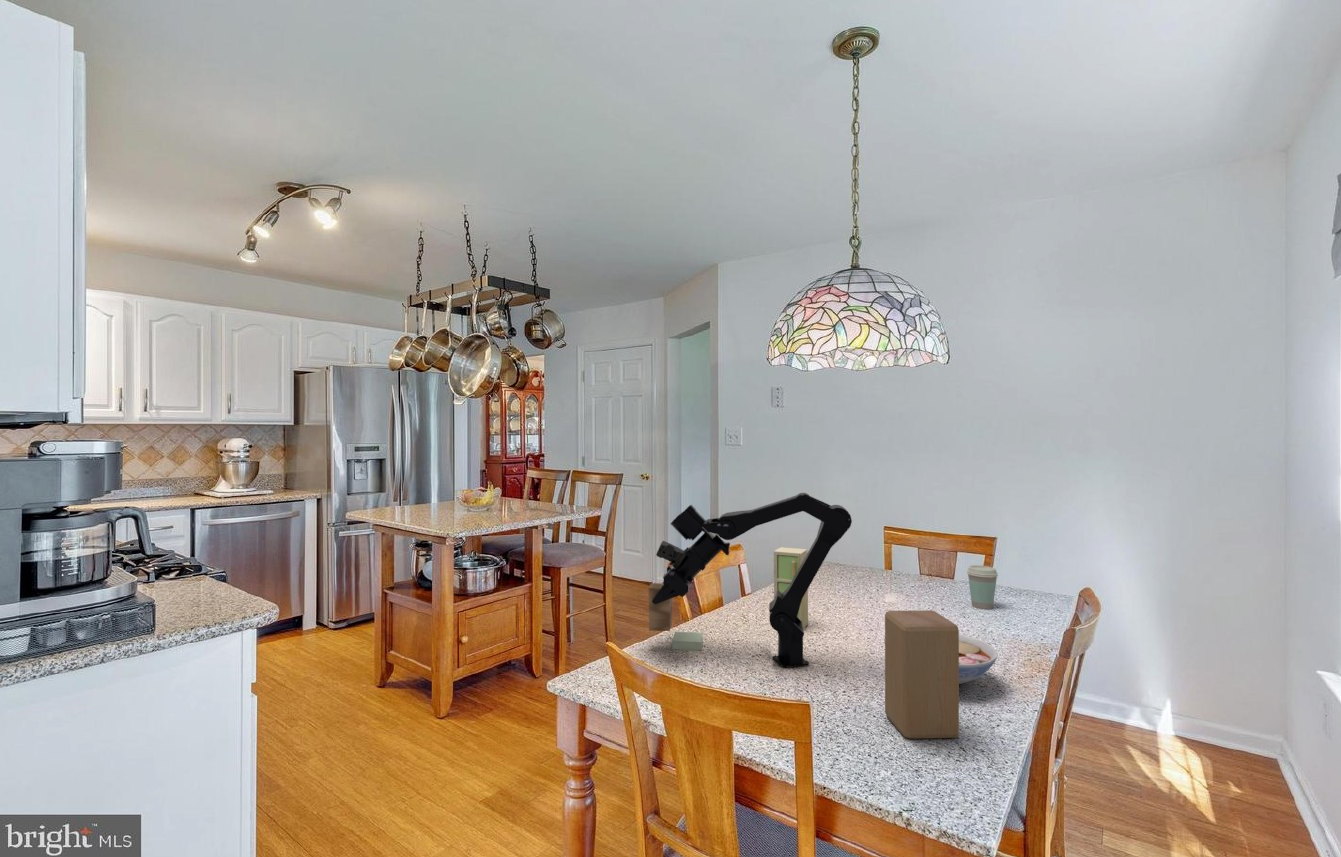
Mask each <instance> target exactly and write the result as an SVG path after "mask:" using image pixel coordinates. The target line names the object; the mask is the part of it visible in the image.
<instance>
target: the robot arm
mask: <svg viewBox="0 0 1341 857" xmlns="http://www.w3.org/2000/svg"><path fill="white" fill-rule="evenodd" d="M801 512H804V513H806V514H808V515H809V516H811V517H813V518H815V519H817V520H819V521H820V524H819V527H818V530H817V535H816V537H815V539H814V541H813V542H812V545H811V546H810V547H809V550H807V555H806V557H805V559H804V560H803V562H802V564H801V566H800V567H799V569H798V571H797V573H796V575H795V576H794V578H793V580H792V582H791V583H790V585H789V587H788V588H787V589H786V590H785V591H784V592H783V593H781V592H780V591H779V590H777V592H776V595H775V598H774V597H773V599H772V600H771V601H770V602H769V604H768V606H769V607H768V612H769V619H768V620H769V624H770V626H771V627H772V629H773V630H774V631H776V632H777V634H778V635H777V636H778V638H777V640H778V641H777V648H778V649H777V654H776V655H773V656H772V659H773V660H774V661H775V662H776V663H778V664H779V665H780V666H781V667H782V668H794V667H804V666H809V665H810V662H809V661H807V659H805V658H804V636H805V633H804V632H805V631H804V629H803V623H802V621H801V620H800V619H799V618H798V617H797V615H798V612H799V608H800V605H801V601H802V598H803V596H804V595H805V593H806V591H807V589H808V590H809V587H810V586H811V584H812V582H813V581H814V579H815V577H816V575H817V574H818V572H819V571H820V568H821V566H822V565H823V564H824V561H825V559H826V558H827V556H828V554H829V552H830V551H831V549H832V548H833V547H834V545H835V544H836V543H838V542H839V541H840V539H842V537H843V536H844V535H845V534H846V533H847V531H848V530H849V529H850V528H851V525H852V521H853V519H852V515H851V514H850V512H849V511H848V510H847V509H846V508H845V507H844V506H843V505H839V504H832V505H830V504H829V503H827V502H824V501H823V500H820V499H817V498H815V497H813V496H811V495H810V494H809V493H806V492H800V493H798V494H796V495H794V496H790V497H787V498H785V499H784V498H783V499H781V500H778V501H774V502H772V503H769V504H766V505H762V506H759V507H756V508H754V509H748V510H738V511H737V510H736V511H730V512H725V513H723V514H721V515H720V517H717V518H714V517H713V518H708V519H705V518H704V517H703V516H702V515H701V514H700V513H699V512H698V511H697V510H696V508H695V506H694V505H693V504H690V505H689V506H688V507H686V508H685V509H684V510H683V511H681V513H679V514H678V515H677V516H676V517H675V518H674V519H673V520H672V521H671V523H670V525H671V526H672V527H673V528H674V529H675V531H677V532H678V533H679V534H680V536H682V537H683V539H685V541H687V540H689V541H694V540H695V539H697V537H698V536H699V535H700V534H701V533H702V532H703V533H702V535H701V536H699V537H698V539H697V540H696V541H695V542H694V543H693V544H692V545H691V546H689V547H686V548H685V549H681V548H680V547H678V546H677V545H674V544H672V543H669V542H668V541H664V540H662V541H661V543H660V545H659V547H658V549H657V552H656V557H658V558H660V559H662V558H663V559H664V560H666V561H668V562H669V565H668V566H667V567H666V572H665V573H664V575H663V577H662V578H663V582H662V583H664V584H663V586H662V587H661V589H660V590H659V592H658V593H657V594H656V596H655V597H654V599H653V600H652V602H653V603H654V604H658V603H660V602H663V601H666V600H668V599H671V598H672V599H674V598H676V597H679V596H680V597H681V598H684V597H685V595H686V594H688V593H689V591H690V584H691V583H692V582H693V581H694V579H695V578H696V577H697V575H698V574H699V573H700V572H701V571H704V570H705V569H706V567H707V566H708V564H710V562H711V561H712V560H714V558H715V557H717V555H718V554H719V553H720V552H721V551H722V552H723V554H725V555H726V556H729V555H730V545H731V542H725V541H731V540H732V541H733V539H736V538H737V537H739V536H742V535H744V534H745V533H747V532H748V531H750V530H751V529H754V528H756V527H757V526H760V525H764V524H767V523H770V522H773V521H776V520H779V519H783V518H785V517H788V516H792V515H795V514H799V513H801ZM713 534H714V535H713Z"/></svg>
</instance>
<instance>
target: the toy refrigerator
mask: <svg viewBox="0 0 1341 857" xmlns="http://www.w3.org/2000/svg"><path fill="white" fill-rule="evenodd" d="M807 553H808V549H805V548H798V547H797V548H795V547H785V546H784V547H781V546H780V547H778V548H777V549H775V550H773V594H774V595H773V599H774V598H775V595H776V592H777V590H779V591H780V592H781V593H783V592H784V591H785V590H786V589H787V588H788V587H789V585H790V583H791V582H792V580H793V578H794V576H795V575H796V573H797V571H798V569H799V567H800V566H801V564H802V562H803V560H804V559H805V557H806V555H807ZM797 617H798V618H799V619H800V620H801V621H802V623H803V630H804V629H805V628H806V626H807V625H808V624H809V588H808V589H807V591H806V593H805V595H804V596H803V598H802V601H801V605H800V608H799V612H798V615H797Z"/></svg>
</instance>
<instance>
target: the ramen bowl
mask: <svg viewBox="0 0 1341 857" xmlns="http://www.w3.org/2000/svg"><path fill="white" fill-rule="evenodd" d="M883 643H884V644H885V638H884V640H883ZM998 657H999V656H998V653H997V649H995V647H993V646H991V645H990V644H988V643H987V642H985V641H982V640H980V639H977V638H975V637H972V636H969V635H964V634H961V633H959V685H960V684H965V683H969V682H973V681H975V680H978V679H979V678H981V677H982V676H983V675H984V674H985V673H987V672H988V671H990V668H991V667H992V666H993V665H994V664H995V662H996V660H997V658H998Z"/></svg>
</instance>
